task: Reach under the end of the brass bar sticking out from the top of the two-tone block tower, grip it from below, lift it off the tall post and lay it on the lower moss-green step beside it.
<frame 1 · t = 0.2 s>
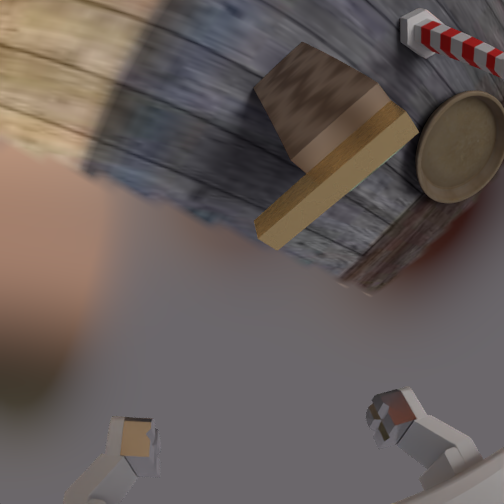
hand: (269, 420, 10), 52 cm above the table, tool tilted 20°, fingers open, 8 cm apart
brass bar: (329, 169, 33), point 27 cm above the table, touching two-tone block tower
plant saucer: (457, 142, 62), on the table
two-tone block tower: (312, 96, 53), on the table
decorative lighthouse: (418, 31, 43), on the table
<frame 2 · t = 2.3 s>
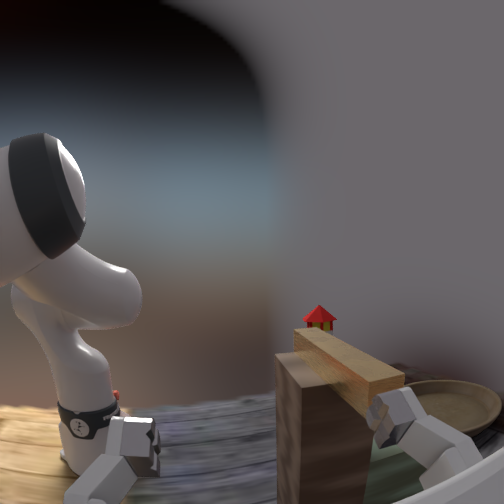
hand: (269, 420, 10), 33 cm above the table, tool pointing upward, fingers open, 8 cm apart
brass bar: (334, 375, 29), point 27 cm above the table, touching two-tone block tower
plant saucer: (440, 418, 59), on the table
decorative lighthouse: (317, 440, 59), on the table
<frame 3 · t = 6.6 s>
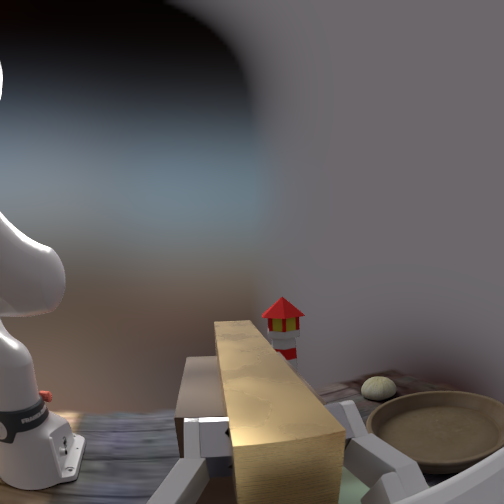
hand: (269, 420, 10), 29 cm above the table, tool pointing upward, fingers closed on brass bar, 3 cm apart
sea urchin shell: (378, 396, 72), on the table
brass bar: (248, 399, 17), point 27 cm above the table, touching gripper, two-tone block tower
plant saucer: (440, 438, 46), on the table
decorative lighthouse: (284, 465, 47), on the table
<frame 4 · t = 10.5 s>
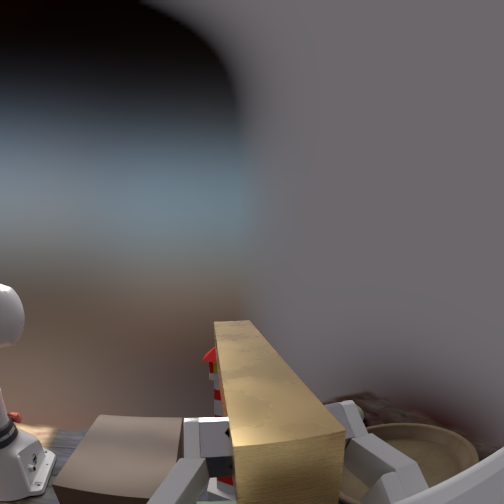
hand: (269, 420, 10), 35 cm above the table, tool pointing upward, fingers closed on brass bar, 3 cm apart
brass bar: (248, 399, 17), point 33 cm above the table, touching gripper
plant saucer: (398, 476, 44), on the table
decorative lighthouse: (235, 493, 45), on the table
when the fingers open (19 cm above the table, at t = 14.6 s): brass bar stays where it is, resting on two-tone block tower.
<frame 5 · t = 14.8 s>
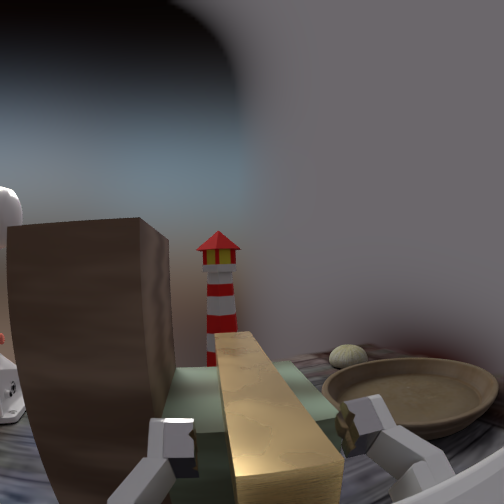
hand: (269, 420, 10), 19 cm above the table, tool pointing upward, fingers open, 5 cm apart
sea urchin shell: (347, 366, 72), on the table
brass bar: (248, 414, 17), point 16 cm above the table, touching two-tone block tower
plant saucer: (410, 406, 45), on the table
decorative lighthouse: (228, 423, 46), on the table
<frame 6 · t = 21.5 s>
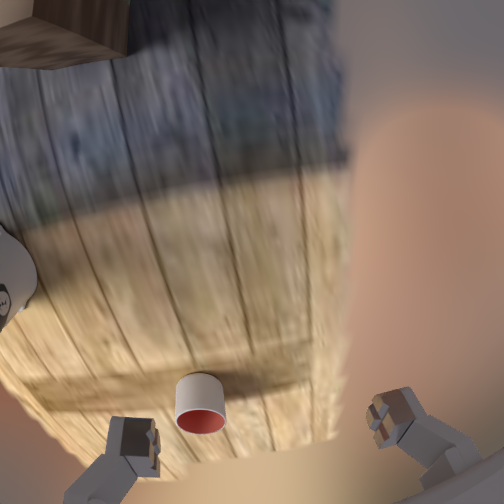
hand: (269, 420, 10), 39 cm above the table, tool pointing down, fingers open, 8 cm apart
cup: (199, 384, 65), on the table
two-tone block tower: (90, 7, 30), on the table
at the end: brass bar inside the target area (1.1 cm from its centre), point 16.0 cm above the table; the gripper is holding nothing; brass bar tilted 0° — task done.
